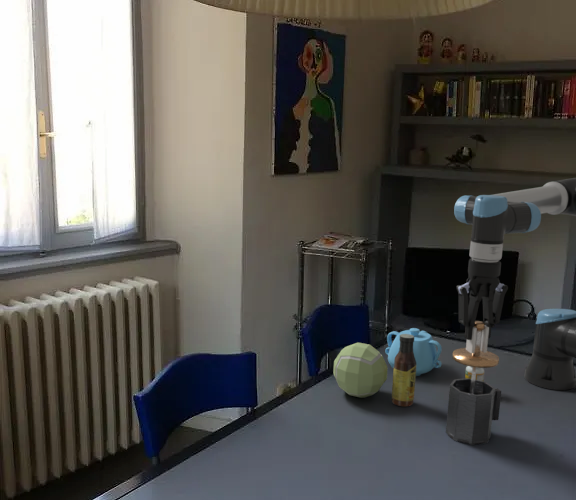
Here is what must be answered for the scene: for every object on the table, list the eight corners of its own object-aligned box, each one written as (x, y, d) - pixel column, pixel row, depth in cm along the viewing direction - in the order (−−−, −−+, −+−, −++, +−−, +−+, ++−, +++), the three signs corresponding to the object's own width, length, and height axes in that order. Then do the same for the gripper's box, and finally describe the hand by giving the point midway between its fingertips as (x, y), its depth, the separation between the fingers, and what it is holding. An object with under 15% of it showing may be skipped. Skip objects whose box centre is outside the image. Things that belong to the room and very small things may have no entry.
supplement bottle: (486, 393, 189) (489, 363, 187) (471, 395, 187) (474, 365, 185) (474, 386, 194) (477, 356, 192) (460, 388, 192) (463, 358, 190)
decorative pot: (382, 359, 214) (384, 320, 211) (429, 360, 215) (432, 321, 212) (391, 378, 198) (394, 337, 195) (442, 379, 199) (446, 337, 196)
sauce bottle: (413, 409, 176) (418, 341, 173) (390, 406, 178) (395, 338, 174) (413, 399, 183) (418, 333, 179) (391, 397, 184) (396, 331, 180)
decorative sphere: (343, 380, 195) (346, 333, 192) (390, 390, 188) (394, 342, 186) (325, 398, 181) (327, 348, 178) (375, 409, 175) (379, 358, 172)
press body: (483, 421, 170) (487, 376, 168) (507, 440, 160) (513, 392, 158) (438, 426, 166) (442, 380, 164) (460, 446, 156) (465, 397, 154)
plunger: (477, 391, 168) (485, 315, 164) (503, 410, 158) (512, 328, 153) (440, 395, 165) (447, 317, 161) (463, 414, 154) (471, 331, 150)
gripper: (465, 263, 148) (456, 358, 153) (522, 261, 153) (512, 354, 157) (448, 256, 155) (440, 348, 160) (503, 255, 160) (494, 344, 164)
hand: (476, 350), depth 159 cm, fingers closed on plunger, 3 cm apart
